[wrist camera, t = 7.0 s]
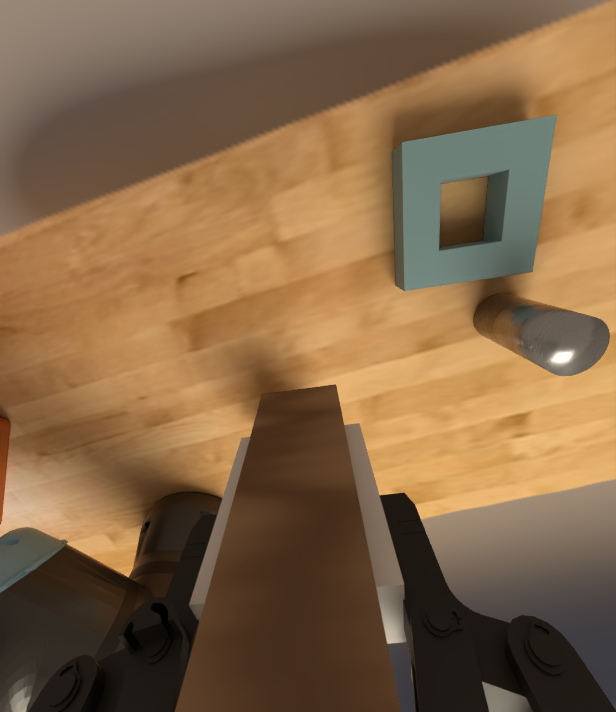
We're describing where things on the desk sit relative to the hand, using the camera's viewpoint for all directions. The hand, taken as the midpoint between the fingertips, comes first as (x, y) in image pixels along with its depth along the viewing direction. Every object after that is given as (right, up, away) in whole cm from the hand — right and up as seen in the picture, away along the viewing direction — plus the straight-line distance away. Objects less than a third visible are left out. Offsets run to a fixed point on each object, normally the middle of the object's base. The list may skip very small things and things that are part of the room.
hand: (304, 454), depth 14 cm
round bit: (+21, +9, +18) cm, 29 cm away
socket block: (+15, +18, +14) cm, 27 cm away
